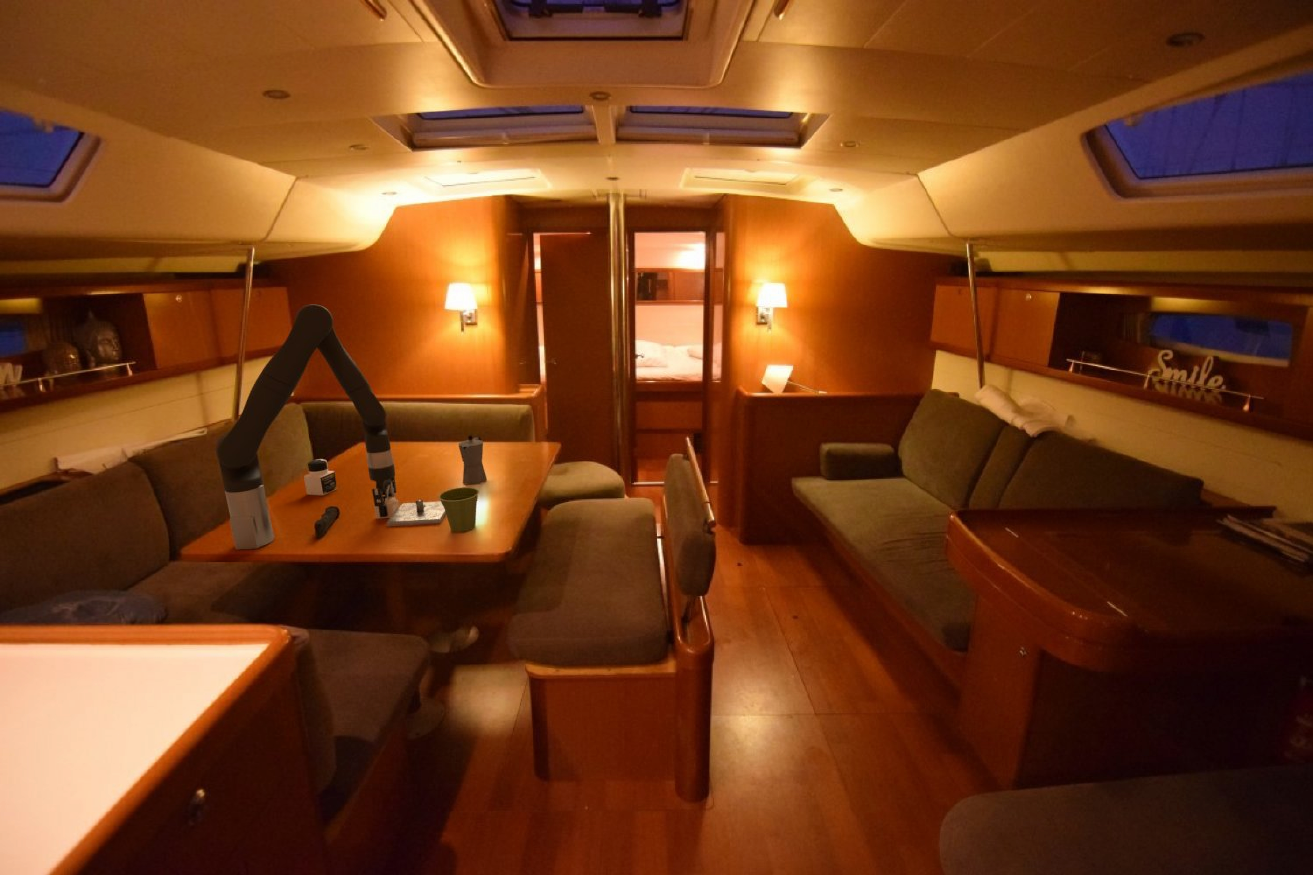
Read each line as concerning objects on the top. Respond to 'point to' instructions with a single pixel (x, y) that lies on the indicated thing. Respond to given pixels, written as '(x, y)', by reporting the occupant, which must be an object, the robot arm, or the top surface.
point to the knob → (388, 507)
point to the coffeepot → (472, 461)
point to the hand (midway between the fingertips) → (387, 512)
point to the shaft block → (418, 514)
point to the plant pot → (460, 507)
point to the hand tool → (326, 521)
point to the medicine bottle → (319, 478)
